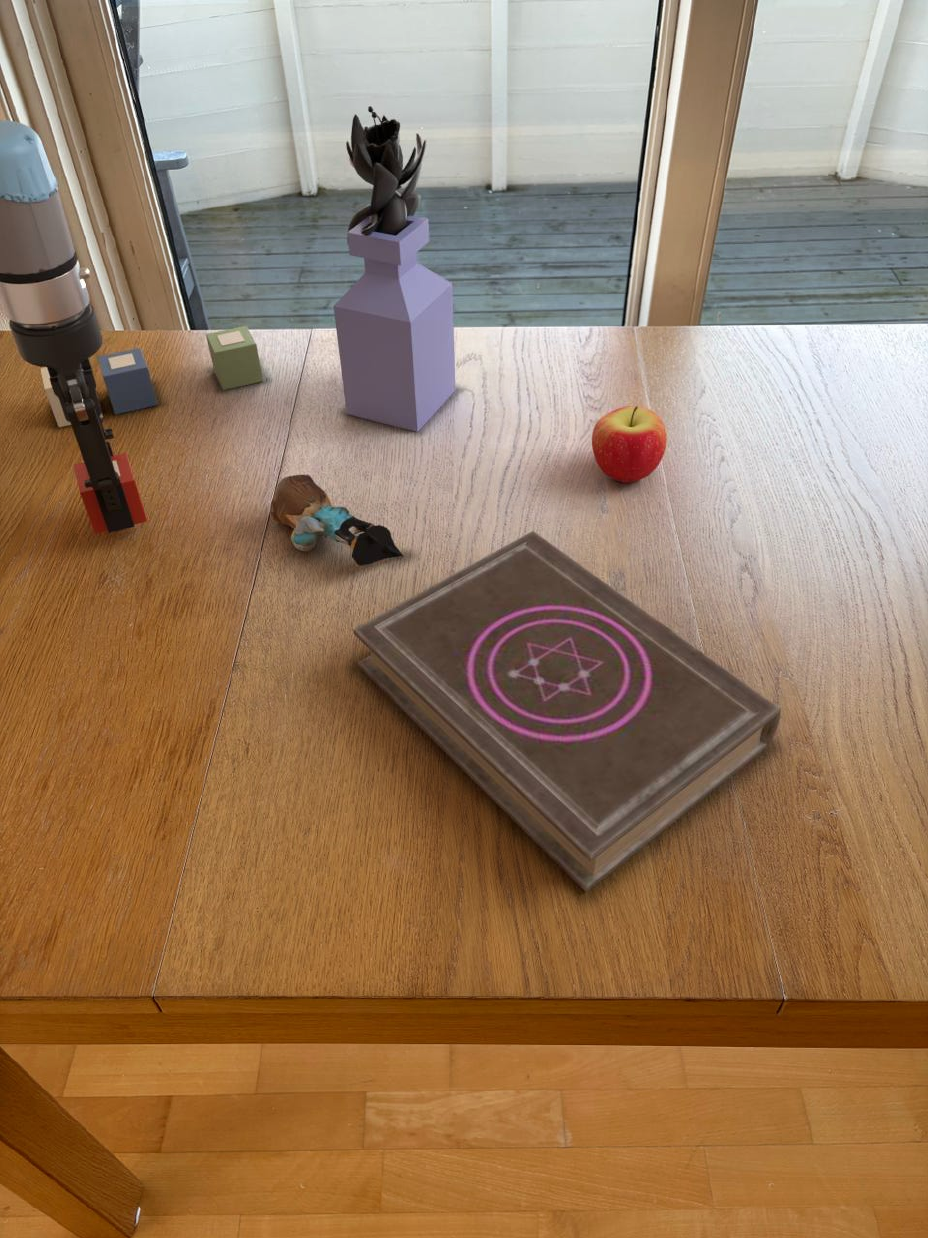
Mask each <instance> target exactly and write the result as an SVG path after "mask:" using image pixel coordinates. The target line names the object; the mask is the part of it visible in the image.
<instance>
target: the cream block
mask: <svg viewBox="0 0 928 1238" xmlns="http://www.w3.org/2000/svg"><path fill="white" fill-rule="evenodd" d="M40 373H41V378H42V384H43V390H44V392H45V395H46V398H47V400H48V403H49V406H50V408H51V410H52V413H53V416H54V419H55V421H56V424H57V427H58V428H63V427H68V426H72V425H71V423H70V422H68V421H67V420H66V419H65V416H64V413H63V410H62V407H61V404H60V401H59V398H58V397H57V396H56V395H55V394H54V392H53V389H52V386H51V382H50V379H49V378H50V375H49V372H48V369H47V367H41V368H40ZM66 403H67V402H66ZM100 417H101V418H102V419H103V418H104V415H103V412H102V413H101V415H100Z"/></svg>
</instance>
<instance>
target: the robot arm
mask: <svg viewBox="0 0 928 1238" xmlns="http://www.w3.org/2000/svg"><path fill="white" fill-rule="evenodd" d="M58 186H59V183H58V180H57V178H56V175H55V174H54V172H53V170H52V167H51V164H50V161H49V158H48V156H47V152H46V150H45V147H44V145H43V141H42V140H41V137H40V135H38V133H37V132H36V131H35V130H34V129H33V128H32V127H30V126H28V125H26V124H24V123H22V122H18V121H13V120H5V119H4V120H2V119H1V120H0V307H1V309H2V311H3V313H4V316H5V317H6V318H7V319H8V320H9V322H8V323H9V324H8V325H9V328H10V331H11V334H12V337H13V339H14V342H15V344H16V347H17V350H18V353H19V354H20V357H21V358H22V359H23V360H24V362H26V363H28V364H30V365H32V366H36V367H41V368H45V367H47V369H48V372H49V375H50V378H49V379H50V382H51V386H52V389H53V392H54V394H55V395H56V396H57V397H58V398H59V401H60V404H61V407H62V410H63V413H64V416H65V419H66V420H67V421H68V422H70V423H71V425H70V426H71V428H72V431H73V434H74V436H75V440H76V442H77V445H78V448H79V452H80V453H81V457H82V460H83V462H84V463H85V466H86V469H87V471H88V474H89V477H90V479H88V480H84V483H85V487H86V488H89V487H92V488H93V490H94V492H95V494H96V497H97V500H98V503H99V506H100V509H101V512H102V514H103V517H104V520H105V523H106V526H107V529H108V531H107V532H108V533H109V534H111V533H115V532H119V531H123V530H127V529H131V528H135V526H136V524H135V525H134V522H133V519H132V516H131V513H130V510H129V506H128V503H127V500H126V497H125V494H124V491H123V488H122V485H121V482H120V479H119V476H118V473H117V472H115V469H114V465H113V462H112V459H111V456H113V455H114V452H113V449H112V445H111V443H110V441H108V440H112V439H115V436H114V433H113V430H112V428H107V429H104V419H103V418H101V417H100V415H101V413H102V414H103V412H102V411H103V410H102V407H101V403H100V399H99V396H98V393H97V382H96V379H95V376H94V371H93V368H92V364H91V360H90V358H91V357H93V356H94V355H95V354H96V353H97V352H98V351H99V350H100V349H101V347H102V345H103V335H102V332H101V328H100V325H99V322H98V319H97V315H96V312H95V309H94V306H92V304H91V303H90V300H91V299H90V295H89V290H88V287H87V285H86V282H85V280H88V279H90V278H91V271H90V269H89V268H88V267H85V266H82V267H80V262H79V258H78V255H77V252H76V247H75V246H74V241H73V239H72V235H71V232H70V228H69V225H68V221H67V217H66V213H65V211H64V207H63V204H62V203H63V202H62V200H61V196H60V193H59V188H58ZM66 402H67V403H66Z"/></svg>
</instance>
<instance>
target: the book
mask: <svg viewBox="0 0 928 1238" xmlns="http://www.w3.org/2000/svg"><path fill="white" fill-rule="evenodd" d="M352 634H353V635H354V636H355V637H356V638H357V639H358V640H359V641H360V642H361V643H362V644H364V645H365V647H367V648H368V649H369V650H370V654H369V655H368V656H366V657H364V658H363V659H360V660H359V661H357V666H358V667H359V669H361V670H362V671H363V673H364V674H366V676H368V677H369V678H370V679H371V680H372V681H373V682H374V683H375V684H376V685H377V686H378V687H379V688H380V689H381V691H383V692H384V693H385V694H386V696H388V697H389V698H390V699H391V700H392V701H393V702H394V703H395V704H396V705H397V706H398V707H399V708H400V709H401V710H402V711H403V712H404V713H405V714H406V715H407V716H408V717H409V718H410V719H411V720H412V721H413V722H414V723H415V724H416V725H417V726H419V728H420V729H421V730H422V731H423V732H424V733H425V734H426V735H428V737H429V738H430V739H431V740H432V741H433V742H434V743H435V744H436V745H437V746H438V747H440V749H441V750H442V751H443V752H445V754H446V755H447V756H449V758H450V759H451V760H452V761H453V762H454V763H455V764H456V765H457V766H459V768H460V769H461V770H462V771H463V772H464V773H466V775H467V776H469V777H470V779H471V780H473V782H474V783H475V784H476V785H477V786H479V787H480V789H481V790H482V791H484V792H485V794H486V795H488V796H489V797H490V799H491V800H493V802H495V803H496V805H498V807H500V809H502V810H503V811H504V812H505V814H506V815H508V816H509V818H511V819H512V820H513V822H514V823H516V824H517V825H518V826H519V828H521V829H522V830H523V831H524V832H525V833H526V835H528V836H529V837H530V839H532V840H533V841H534V843H536V844H537V846H539V847H540V848H541V849H542V850H543V851H544V852H545V854H547V855H548V856H549V857H550V858H551V859H552V860H553V862H555V864H557V865H558V866H559V867H560V868H561V869H562V870H563V871H564V872H565V873H566V874H567V875H568V876H569V877H570V878H571V879H572V881H574V882H575V883H576V884H577V885H578V886H579V887H580V888H581V889H582V890H583V891H584V892H585V893H587V892H589V891H590V890H592V888H594V887H595V886H596V885H598V883H600V882H601V881H602V880H604V879H605V878H606V877H607V876H609V875H610V874H611V873H612V872H614V871H615V870H616V869H618V868H619V867H620V866H621V865H623V864H624V863H625V862H626V861H627V860H628V859H630V858H632V857H633V856H634V855H635V854H636V853H637V852H638V851H640V850H642V848H643V847H645V846H646V845H647V844H648V843H650V842H651V841H652V840H653V839H655V838H656V837H657V836H659V835H660V834H661V833H663V831H664V830H666V829H667V828H669V827H670V826H671V825H672V824H674V823H675V822H676V821H677V820H679V819H680V818H681V817H682V816H684V815H685V814H686V813H687V812H688V811H690V810H691V809H692V808H693V807H695V806H696V805H697V804H698V803H700V802H701V801H702V800H703V799H704V798H706V797H707V796H709V795H710V794H711V793H712V792H713V791H715V790H716V789H717V788H719V787H720V786H721V785H722V784H724V783H725V782H726V781H727V780H728V779H730V778H731V777H732V776H733V775H734V774H736V773H737V772H738V771H740V770H741V769H742V768H743V767H745V766H746V765H747V764H748V763H749V762H751V761H752V760H754V759H755V758H756V757H757V756H758V755H760V754H761V753H762V752H763V751H764V750H766V749H767V748H768V747H770V745H771V742H772V740H773V739H774V737H775V734H776V732H777V730H778V727H779V725H780V720H781V717H782V715H781V713H782V710H781V709H782V708H781V707H779V706H778V705H777V704H775V703H774V702H773V701H771V700H769V699H768V698H767V697H765V696H764V695H763V694H762V693H760V692H758V691H757V690H756V689H755V688H753V687H752V686H750V685H749V684H747V683H746V682H744V681H743V680H742V679H740V678H739V677H738V676H736V675H735V674H733V673H732V672H730V670H728V669H726V668H725V667H724V666H722V665H721V664H720V663H718V662H717V661H715V660H714V659H713V658H711V657H710V656H709V655H707V654H706V653H705V652H703V651H702V650H700V649H699V648H698V647H696V646H695V645H693V644H692V643H690V642H689V641H687V640H686V639H685V638H683V637H682V636H680V635H679V634H678V633H676V631H673V630H672V628H669V627H668V626H667V625H666V624H664V623H662V622H661V621H659V620H658V618H656V617H654V616H652V615H651V614H650V613H648V612H647V611H646V610H644V609H643V608H642V607H640V605H638V604H636V603H635V602H633V601H632V600H631V599H629V598H628V597H626V596H625V595H624V594H622V593H621V592H619V591H618V590H617V589H615V588H614V587H613V586H611V585H610V584H608V583H607V582H605V581H604V580H602V579H601V578H600V577H599V576H597V575H595V574H594V573H593V572H592V571H590V570H588V569H587V568H586V567H585V566H583V565H582V564H580V563H579V562H578V561H576V560H575V559H573V558H572V557H571V556H570V555H568V554H567V553H565V552H564V551H562V550H561V549H559V548H558V547H557V546H555V545H554V544H552V543H551V542H550V541H548V540H547V539H546V538H544V537H543V536H541V535H540V534H539V533H538V532H536V531H534V530H532V531H530V532H528V533H526V534H525V535H523V536H520V537H519V538H517V539H515V540H513V541H511V542H510V543H508V544H506V545H504V546H502V547H500V548H499V549H497V550H495V551H493V552H492V553H490V554H487V555H486V556H485V557H483V558H481V559H479V560H477V561H475V562H473V563H472V564H470V565H468V566H466V567H464V568H463V569H461V570H459V571H457V572H455V573H453V574H452V575H450V576H448V577H446V578H444V579H442V580H441V581H439V582H437V583H435V584H434V585H432V586H430V587H428V588H426V589H424V590H423V591H420V592H419V593H417V594H415V595H413V596H412V597H410V598H407V599H406V600H404V601H402V602H400V603H399V604H397V605H395V606H394V607H391V608H390V609H388V610H386V611H384V612H383V613H381V614H379V615H377V616H375V617H374V618H372V619H370V620H368V621H366V622H364V623H363V624H361V625H359V626H358V627H355V628H353V629H352Z"/></svg>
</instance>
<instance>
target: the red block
mask: <svg viewBox="0 0 928 1238" xmlns="http://www.w3.org/2000/svg"><path fill="white" fill-rule="evenodd" d="M111 459H112V462H113V465H114V469H115V472H117V473H118V476H119V479H120V482H121V485H122V488H123V491H124V494H125V497H126V500H127V503H128V506H129V510H130V513H131V516H132V519H133V522H134V525H135V526H136V525H139V524H142V523H146V522H148V519H147V516H146V512H145V509H144V505H143V502H142V501H143V500H142V498H141V494H140V491H139V488H138V485H137V482H136V478H135V475H134V473H133V469H132V466H131V462H130V459H129V456H128V453H127V452H121V453H118V454H113V456H111ZM73 467H74V471H75V477H76V482H77V486H78V490H79V495H80V497H81V500H82V503H83V504H84V508H85V511H86V514H87V517H88V518H89V521H90V524H91V527H92V529H93V533H94V535H98V534H102V533H103V534H104V533H107V532H108V529H107V526H106V523H105V520H104V517H103V514H102V512H101V509H100V506H99V503H98V500H97V497H96V494H95V492H94V490H93V488H92V487H89V488H86V487H85V483H84V480H88V479H90V477H89V474H88V471H87V469H86V466H85V463H84V461H82V462H77V463H74V464H73Z"/></svg>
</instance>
